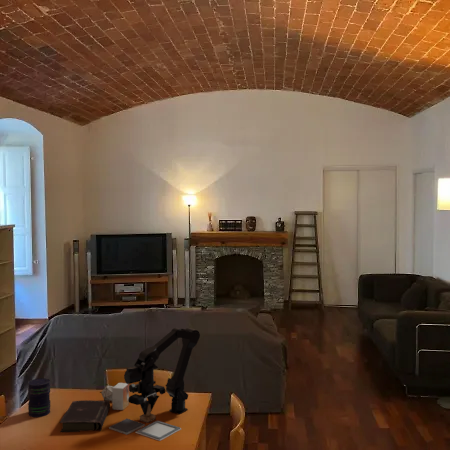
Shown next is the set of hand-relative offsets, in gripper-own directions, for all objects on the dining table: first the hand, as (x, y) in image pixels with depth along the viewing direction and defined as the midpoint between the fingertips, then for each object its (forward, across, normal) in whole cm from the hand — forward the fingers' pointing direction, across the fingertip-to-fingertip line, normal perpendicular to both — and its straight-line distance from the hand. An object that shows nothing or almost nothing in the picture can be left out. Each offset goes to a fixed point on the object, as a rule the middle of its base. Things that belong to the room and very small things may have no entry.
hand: (147, 413), depth 239 cm
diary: (+4, +16, -23) cm, 28 cm away
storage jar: (+3, +23, -47) cm, 52 cm away
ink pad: (+3, +11, -2) cm, 12 cm away
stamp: (+3, 0, 0) cm, 3 cm away
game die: (+3, -6, -31) cm, 32 cm away
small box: (+3, -4, -21) cm, 22 cm away
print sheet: (+3, +6, +12) cm, 14 cm away
